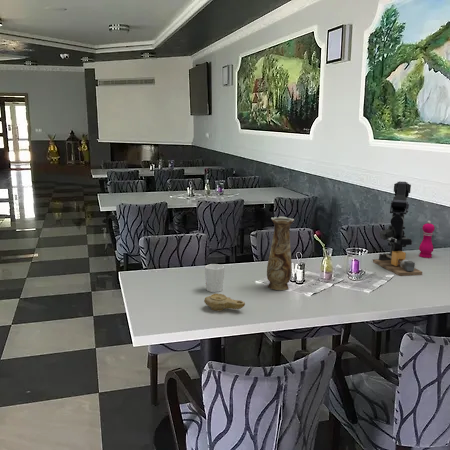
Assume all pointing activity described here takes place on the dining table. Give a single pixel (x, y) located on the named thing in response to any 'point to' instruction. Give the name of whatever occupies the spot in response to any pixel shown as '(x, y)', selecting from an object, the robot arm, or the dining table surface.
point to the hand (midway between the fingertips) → (394, 254)
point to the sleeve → (397, 257)
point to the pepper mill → (427, 241)
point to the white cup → (214, 277)
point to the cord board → (401, 269)
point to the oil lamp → (223, 302)
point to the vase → (280, 255)
